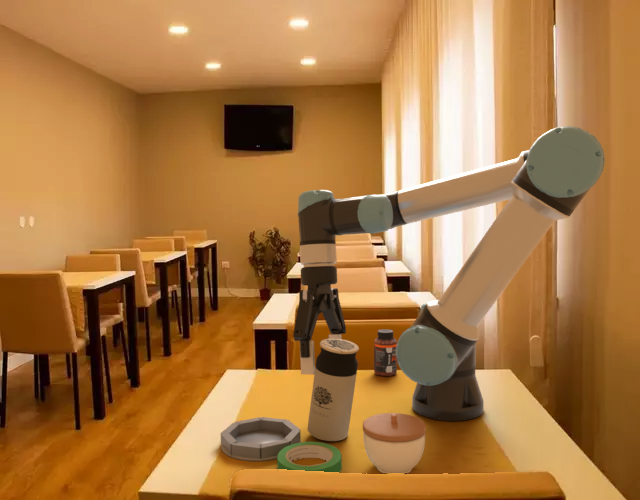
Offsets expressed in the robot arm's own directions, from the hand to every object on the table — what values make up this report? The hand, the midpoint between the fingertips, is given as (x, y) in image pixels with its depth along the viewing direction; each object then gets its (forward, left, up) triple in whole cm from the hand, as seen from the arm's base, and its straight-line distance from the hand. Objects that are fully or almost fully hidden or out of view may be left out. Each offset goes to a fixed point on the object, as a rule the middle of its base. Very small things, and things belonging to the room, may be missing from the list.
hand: (322, 369), depth 125 cm
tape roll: (-4, +21, -12) cm, 24 cm away
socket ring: (+8, +14, -11) cm, 19 cm away
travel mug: (-3, +7, -11) cm, 13 cm away
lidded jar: (-18, +17, -11) cm, 27 cm away
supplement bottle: (-6, -36, -11) cm, 39 cm away
